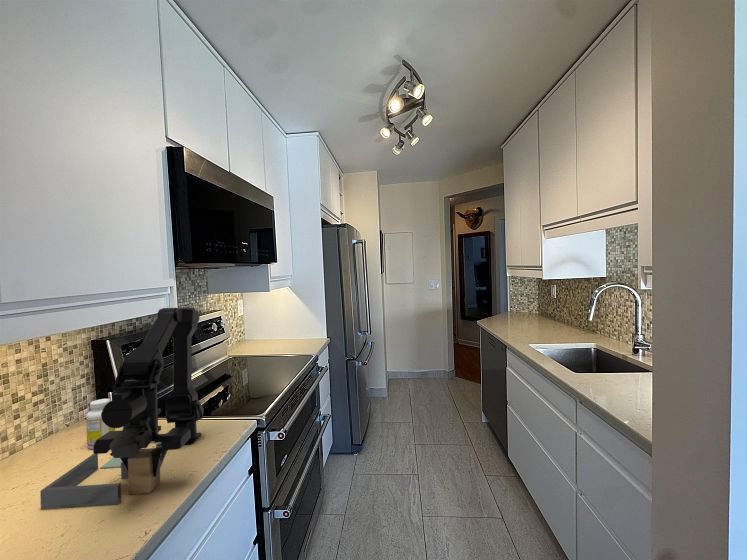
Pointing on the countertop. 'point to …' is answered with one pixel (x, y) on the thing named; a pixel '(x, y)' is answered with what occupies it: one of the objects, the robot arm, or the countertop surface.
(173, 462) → the countertop surface
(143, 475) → the walnut block
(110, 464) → the mat
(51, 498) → the bent rails
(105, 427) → the supplement bottle
